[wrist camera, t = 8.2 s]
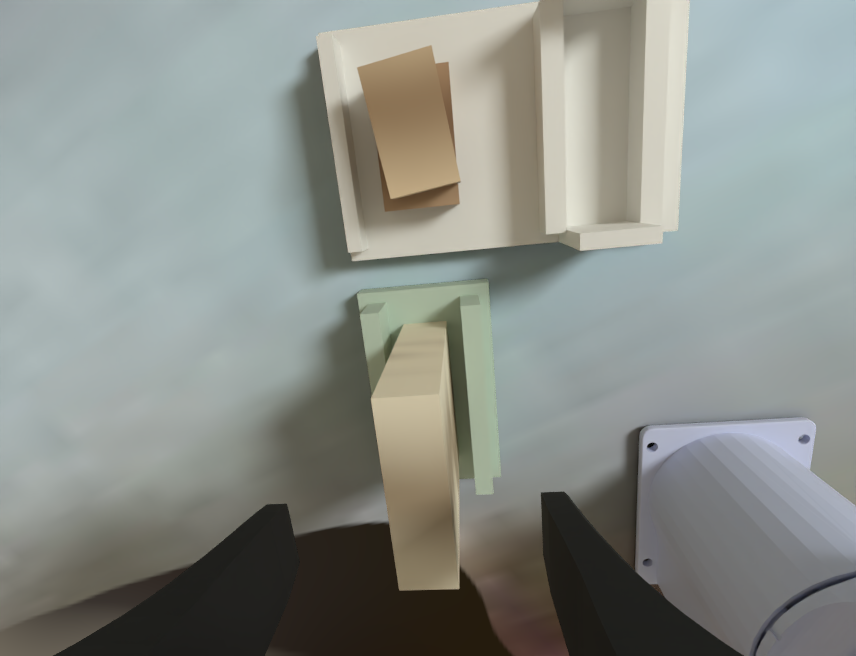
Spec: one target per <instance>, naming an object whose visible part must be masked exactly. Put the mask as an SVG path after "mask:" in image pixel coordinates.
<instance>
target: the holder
mask: <svg viewBox="0 0 856 656" xmlns="http://www.w3.org/2000/svg"><path fill="white" fill-rule="evenodd" d="M357 299H358V305H359V312H360V320H361V327H362V334H363V340H364V347H365V354H366V361H367V367H368V374H369V381H370V388H371V394H372V395H373V392H374V390H375V388H376V386H377V383H378V381H379V379H380V377H381V374H382V372H383V370H384V368H385V365H386V363H387V361H388V359H389V356H390V354H391V352H392V350H393V347H394V345H395V343H396V341H397V338H398V336H399V334H400V331H401V329H402V327H403V325H404V324H413V323H426V322H438V321H447V330H448V340H449V351H450V362H451V373H452V383H453V394H454V405H455V416H456V426H457V437H458V448H459V479H467V478H475V487H476V495H483V494H493V480H492V477H501V467H500V452H499V437H498V421H497V406H496V390H495V375H494V359H493V344H492V329H491V313H490V298H489V282H488V280H487V279H477V280H466V281H455V282H443V283H432V284H421V285H409V286H398V287H387V288H375V289H364V290H361V291H360V292H358V293H357Z"/></svg>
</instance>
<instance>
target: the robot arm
mask: <svg viewBox="0 0 856 656" xmlns="http://www.w3.org/2000/svg"><path fill="white" fill-rule="evenodd" d="M815 433H816V425H815V424H814V422H812V421H811V420H809V419H807V418H804V417H796V418H778V419H760V420H742V421H724V422H706V423H688V424H670V425H652V426H646V427H645V428H643V429H642V430H641V431H640V435H639V463H638V494H637V526H636V557H635V570H634V569H633V568H632V567H631V566H630V565H629V564H627V563H626V562H625V561H624V560H623V559H622V558H621V556H620V555H619V554H618V553H617V552H616V551H615V550H614V549H613V548H612V547H611V546H610V545H609V544H608V543H607V542H606V541H605V539H604V538H603V537H602V536H601V535H600V534H599V533H598V532H597V531H596V529H595V528H594V527H593V526H592V525H591V524H590V522H589V521H588V520H587V519H586V518H585V516H584V515H583V514H582V513H581V512H580V510H579V509H578V508H577V506H576V505H575V504H574V503H573V501H572V500H571V499H570V497H569V496H568V495H567V494H566V493H565V492H544V493H541V506H542V532H543V555H544V561H545V566H546V571H547V576H548V581H549V587H550V592H551V595H552V599H553V602H554V606H555V609H556V612H557V616H558V619H559V622H560V626H561V629H562V632H563V636H564V639H565V642H566V645H567V649H568V652H569V655H570V656H856V506H855V505H854V504H853V503H851V502H850V501H849V500H847V499H846V498H845V497H844V496H842V495H841V494H840V493H838V492H837V491H836V490H835V489H833V488H832V487H831V486H829V485H828V484H827V483H825V482H824V481H823V480H822V479H820V478H819V477H818V476H816V475H815V474H814V473H813V472H811V471H810V466H811V459H812V452H813V446H814V439H815ZM802 435H804V436H803V438H802V439H800V440H798V439H799V437H800V436H802ZM652 442H653V443H654V445H653V446H652V447H650V448H647V445H648V444H649V443H652ZM645 559H648V560H646V561H643V560H645ZM299 563H300V561H299V556H298V552H297V548H296V543H295V538H294V534H293V529H292V524H291V520H290V515H289V511H288V506H287V504H270V505H266V506H264V507H263V508H262V509H260V510H259V511H258V512H257V513H255V514H254V515H253V516H252V517H250V518H249V519H248V520H247V521H246V522H244V523H243V524H242V525H241V526H240V527H239V528H237V529H236V530H235V531H234V532H233V533H231V534H230V535H229V536H228V537H227V538H225V539H224V540H223V541H222V542H221V543H219V544H218V545H217V546H216V547H215V548H213V549H212V550H211V551H210V552H209V553H207V554H206V555H205V556H204V557H203V558H201V559H200V560H199V561H197V562H196V563H195V564H193V565H192V566H191V567H190V568H188V569H187V570H186V571H184V573H182V574H181V575H179V576H178V577H177V578H175V579H174V580H173V581H172V582H170V583H169V584H168V585H166V586H165V587H164V588H162V589H161V590H159V591H158V592H156V593H155V594H154V595H152V596H151V597H149V598H148V599H146V600H145V601H143V602H142V603H140V604H139V605H137V606H136V607H135V608H133V609H131V610H130V611H128V612H127V613H125V614H124V615H122V616H121V617H119V618H118V619H116V620H114V621H112V622H111V623H109V624H107V625H106V626H104V627H102V628H101V629H99V630H97V631H96V632H94V633H92V634H91V635H89V636H87V637H86V638H84V639H82V640H81V641H79V642H77V643H76V644H74V645H72V646H70V647H68V648H67V649H65V650H63V651H61V652H59V653H57V654H56V655H54V656H265V653H266V651H267V649H268V647H269V644H270V642H271V640H272V637H273V635H274V633H275V631H276V628H277V626H278V623H279V621H280V619H281V616H282V614H283V612H284V609H285V607H286V605H287V602H288V599H289V597H290V593H291V590H292V587H293V584H294V581H295V577H296V574H297V570H298V566H299ZM650 584H658V585H659V587H660V589H661V591H662V593H663V595H664V597H663V596H662V595H661V594H660V593H659V592H658V591H656V590H655V589H654V588H653V587H652V586H651V585H650Z"/></svg>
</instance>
